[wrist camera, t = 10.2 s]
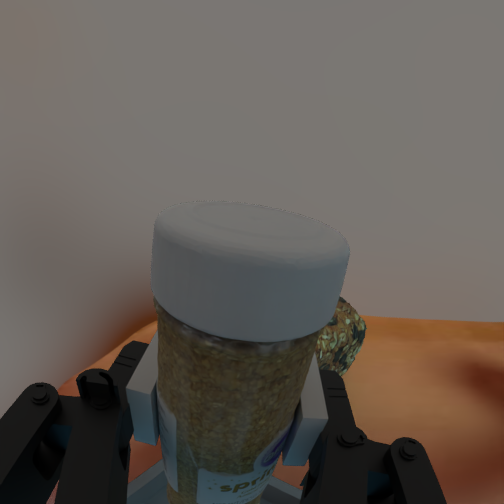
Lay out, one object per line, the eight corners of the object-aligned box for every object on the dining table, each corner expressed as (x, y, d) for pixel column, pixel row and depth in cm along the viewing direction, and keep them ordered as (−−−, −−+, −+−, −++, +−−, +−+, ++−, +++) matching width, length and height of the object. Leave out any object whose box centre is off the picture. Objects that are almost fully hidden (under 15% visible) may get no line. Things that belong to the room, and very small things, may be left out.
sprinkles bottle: (243, 545, 9) (358, 272, 4) (149, 509, 10) (109, 214, 6) (269, 476, 13) (352, 219, 9) (189, 449, 14) (207, 190, 10)
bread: (294, 336, 43) (310, 272, 40) (354, 375, 35) (380, 307, 32) (177, 383, 31) (179, 304, 27) (240, 451, 23) (258, 373, 20)
